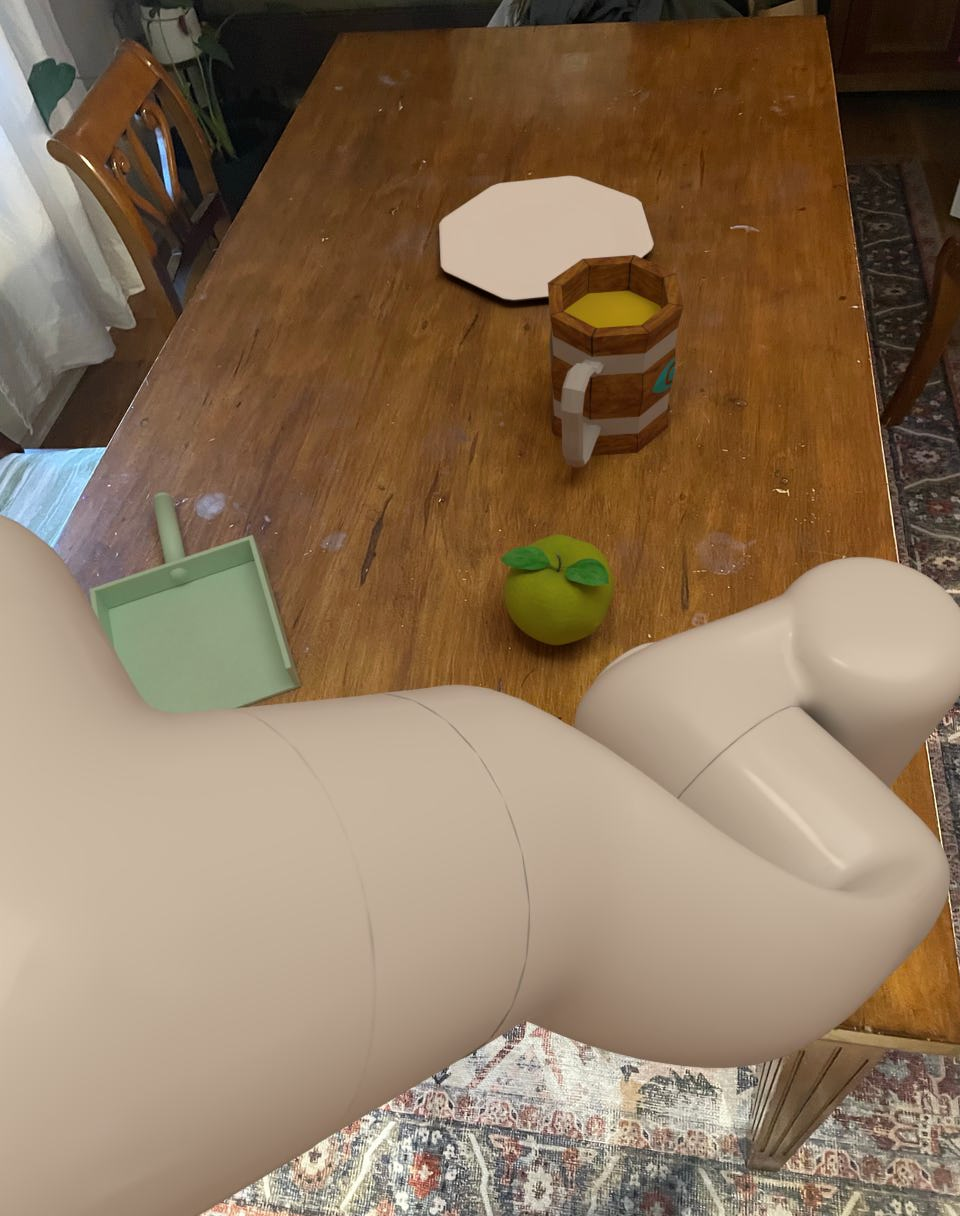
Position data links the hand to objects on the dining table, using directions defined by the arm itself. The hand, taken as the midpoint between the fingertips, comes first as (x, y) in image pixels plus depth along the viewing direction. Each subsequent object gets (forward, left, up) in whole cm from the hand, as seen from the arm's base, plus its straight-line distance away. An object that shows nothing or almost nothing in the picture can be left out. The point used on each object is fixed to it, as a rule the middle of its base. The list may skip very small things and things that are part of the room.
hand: (744, 874), depth 57 cm
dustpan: (-33, +45, -7) cm, 56 cm away
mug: (+13, +49, -7) cm, 51 cm away
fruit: (-1, +28, -7) cm, 29 cm away
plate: (+22, +85, -7) cm, 88 cm away
